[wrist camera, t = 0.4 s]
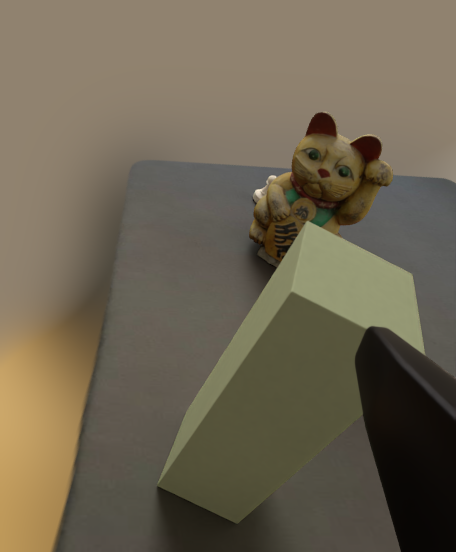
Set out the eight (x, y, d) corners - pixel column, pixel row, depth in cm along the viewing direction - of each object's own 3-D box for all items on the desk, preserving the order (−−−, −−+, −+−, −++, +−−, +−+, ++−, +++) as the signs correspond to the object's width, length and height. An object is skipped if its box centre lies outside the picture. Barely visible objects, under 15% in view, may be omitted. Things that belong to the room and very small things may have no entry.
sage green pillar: (237, 524, 24) (426, 359, 14) (156, 486, 24) (291, 291, 14) (255, 445, 28) (413, 273, 18) (186, 412, 28) (307, 219, 18)
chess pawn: (274, 203, 53) (287, 179, 51) (267, 210, 51) (280, 186, 49) (256, 192, 53) (269, 168, 51) (249, 199, 51) (261, 174, 49)
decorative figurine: (231, 250, 42) (305, 107, 33) (252, 214, 49) (319, 86, 40) (318, 296, 42) (416, 166, 33) (327, 254, 49) (411, 136, 40)
